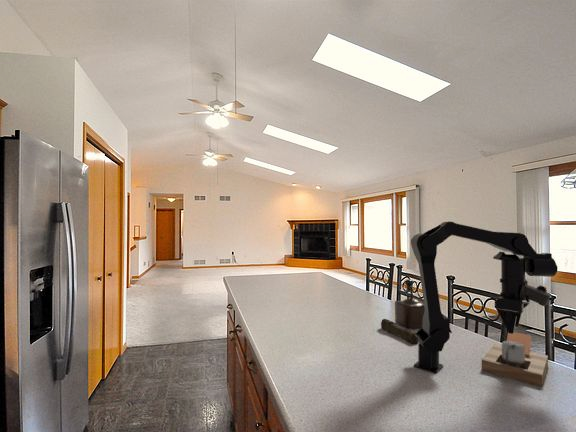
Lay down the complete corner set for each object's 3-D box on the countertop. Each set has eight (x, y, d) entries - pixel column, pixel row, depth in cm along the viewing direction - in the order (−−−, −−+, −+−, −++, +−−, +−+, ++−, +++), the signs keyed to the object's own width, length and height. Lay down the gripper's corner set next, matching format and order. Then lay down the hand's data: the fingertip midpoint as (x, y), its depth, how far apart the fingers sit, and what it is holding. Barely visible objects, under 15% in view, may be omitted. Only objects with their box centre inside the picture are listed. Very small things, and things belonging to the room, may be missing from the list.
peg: (523, 378, 90) (523, 349, 90) (500, 372, 94) (500, 344, 94) (526, 372, 94) (526, 344, 94) (503, 366, 98) (503, 339, 98)
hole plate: (542, 386, 86) (542, 375, 86) (481, 370, 95) (481, 359, 95) (548, 365, 99) (547, 355, 99) (494, 353, 108) (494, 344, 108)
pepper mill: (431, 328, 134) (431, 284, 135) (407, 329, 132) (407, 285, 133) (410, 317, 150) (410, 278, 150) (388, 318, 147) (388, 278, 148)
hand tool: (420, 343, 116) (420, 330, 117) (411, 345, 115) (411, 331, 115) (386, 328, 134) (386, 317, 134) (378, 329, 133) (378, 317, 133)
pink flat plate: (529, 356, 98) (529, 354, 97) (505, 351, 102) (505, 349, 101) (531, 337, 102) (531, 335, 101) (508, 333, 106) (508, 331, 105)
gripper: (545, 283, 83) (545, 345, 82) (551, 275, 96) (551, 328, 96) (494, 277, 90) (494, 334, 90) (506, 271, 104) (506, 320, 103)
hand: (513, 329), depth 94 cm, fingers open, 9 cm apart
